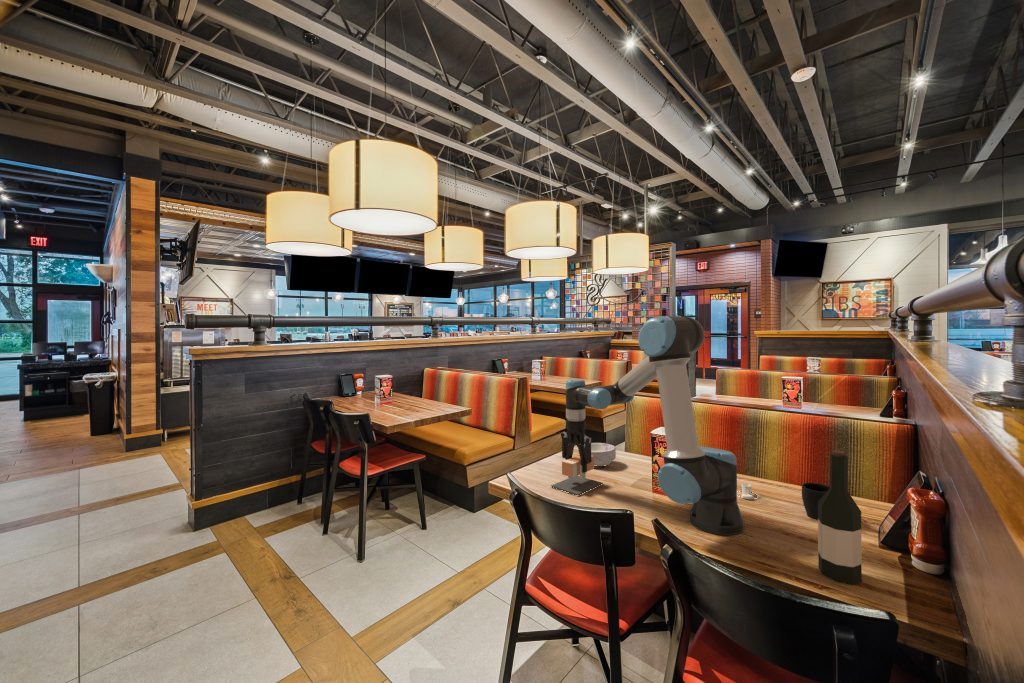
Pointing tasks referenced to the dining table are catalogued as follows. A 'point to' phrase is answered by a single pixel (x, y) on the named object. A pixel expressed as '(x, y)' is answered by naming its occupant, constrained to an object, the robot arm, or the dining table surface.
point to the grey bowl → (602, 453)
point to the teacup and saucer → (747, 492)
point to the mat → (576, 485)
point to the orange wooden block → (575, 466)
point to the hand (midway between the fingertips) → (576, 478)
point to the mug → (813, 497)
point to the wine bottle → (839, 527)
